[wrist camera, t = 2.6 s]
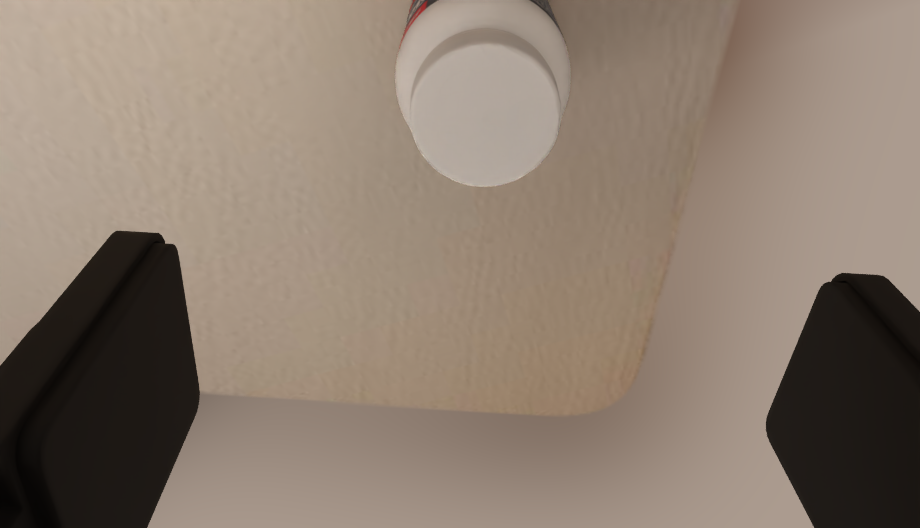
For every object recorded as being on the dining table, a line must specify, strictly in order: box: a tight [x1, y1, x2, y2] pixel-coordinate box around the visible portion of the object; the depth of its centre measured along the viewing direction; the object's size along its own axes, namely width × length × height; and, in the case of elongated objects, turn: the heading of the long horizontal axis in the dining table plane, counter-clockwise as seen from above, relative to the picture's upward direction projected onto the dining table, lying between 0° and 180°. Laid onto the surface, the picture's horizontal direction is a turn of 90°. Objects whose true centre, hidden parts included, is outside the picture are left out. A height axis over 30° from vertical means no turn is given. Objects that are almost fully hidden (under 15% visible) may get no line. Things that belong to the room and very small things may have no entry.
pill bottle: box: [395, 0, 571, 187], centre depth 22 cm, size 5×5×9 cm
